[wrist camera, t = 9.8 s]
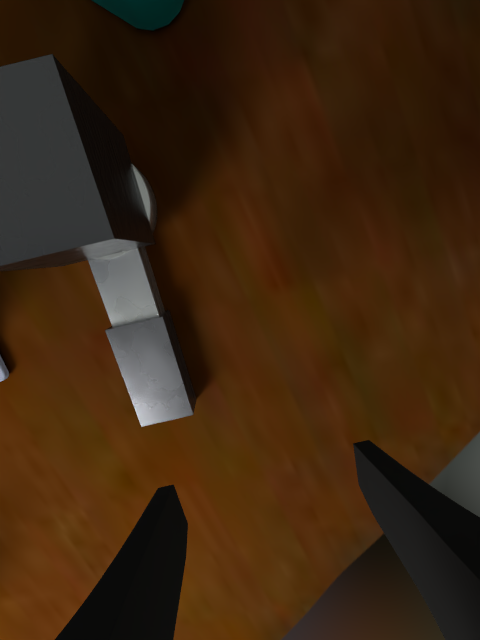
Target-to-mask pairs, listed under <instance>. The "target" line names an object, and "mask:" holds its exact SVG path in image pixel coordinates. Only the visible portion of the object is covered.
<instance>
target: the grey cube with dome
mask: <svg viewBox="0 0 480 640" xmlns="http://www.w3.org/2000/svg"><path fill="white" fill-rule="evenodd" d="M153 244H156V243H155V240H154V236H153V233H152V230H151V226H150V223H149V220H148V216H147V213H146V210H145V206H144V203H143V200H142V196H141V193H140V190H139V186H138V183H137V180H136V176H135V173H134V170H133V166H132V163H131V160H130V156H129V153H128V150H127V146H126V143H125V140H124V136H123V134H122V133H121V132H120V131H119V130H118V129H117V128H116V126H115V125H114V124H113V123H112V122H111V121H110V120H109V118H108V117H107V116H106V115H105V114H104V113H103V112H102V110H101V109H100V108H99V107H98V106H97V105H96V104H95V102H94V101H93V100H92V99H91V98H90V97H89V96H88V94H87V93H86V92H85V91H84V90H83V89H82V88H81V86H80V85H79V84H78V83H77V82H76V81H75V80H74V79H73V77H72V76H71V75H70V74H69V73H68V72H67V71H66V69H65V68H64V67H63V66H62V65H61V64H60V63H59V61H58V60H57V59H56V58H55V57H54V56H53V55H52V54H51V55H47V56H42V57H38V58H34V59H30V60H26V61H22V62H18V63H14V64H10V65H6V66H2V67H0V271H10V270H22V269H34V268H46V267H58V266H65V265H69V264H73V263H77V262H81V261H86V260H90V259H94V258H98V257H102V256H107V255H111V254H115V253H119V252H123V251H128V250H132V249H136V248H140V247H144V246H149V245H153Z"/></svg>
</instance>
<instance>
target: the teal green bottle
mask: <svg viewBox="0 0 480 640" xmlns="http://www.w3.org/2000/svg"><path fill="white" fill-rule="evenodd" d="M92 1H93V2H95V3H96V4H98V5H100V6H101V7H103V8H104V9H106V10H108V11H109V12H111V13H113V14H114V15H116V16H117V17H119V18H121V19H122V20H124V21H125V22H127V23H129V24H130V25H132V26H133V27H135V28H137V29H140V30H148V31H155V30H158V29H160V28H163V27H165V26H168V25H169V24H170V23H171V22H172V21H173V20H174V19H175V18H176V17H177V15H178V14H179V13H180V10H181V7H182V5H183V2H184V0H92Z"/></svg>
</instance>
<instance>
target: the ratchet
mask: <svg viewBox="0 0 480 640" xmlns="http://www.w3.org/2000/svg"><path fill="white" fill-rule="evenodd" d="M132 166H133V170H134V173H135V176H136V180H137V183H138V186H139V190H140V193H141V196H142V200H143V203H144V206H145V210H146V213H147V216H148V220H149V223H150V226H151V230H152V233H153V232H154V230H155V226H156V222H157V203H156V199H155V195H154V192H153V190H152V188H151V186H150V184H149V182H148V181H147V179H146V178H145V176H144V175H143V174H142V173H141V172H140V171H139V170H138V169H137V168H136V167H135V166H134V165H133V164H132ZM88 261H89V264H90V267H91V270H92V272H93V275H94V278H95V281H96V283H97V286H98V289H99V291H100V294H101V297H102V300H103V302H104V305H105V308H106V310H107V313H108V316H109V319H110V321H111V324H112V326H111V327H110V328H108V329H107V330H105V331H106V334H107V336H108V339H109V342H110V344H111V347H112V350H113V352H114V355H115V357H116V360H117V363H118V365H119V368H120V371H121V373H122V376H123V379H124V381H125V384H126V387H127V389H128V392H129V395H130V397H131V400H132V403H133V405H134V408H135V411H136V413H137V416H138V419H139V421H140V424H141V426H146V425H151V424H155V423H159V422H164V421H168V420H172V419H177V418H181V417H185V416H190V415H193V413H194V408H195V404H196V396H195V393H194V390H193V386H192V383H191V380H190V377H189V373H188V370H187V367H186V363H185V360H184V357H183V354H182V350H181V347H180V344H179V340H178V337H177V334H176V331H175V327H174V324H173V321H172V318H171V314H170V311H169V310H168V311H165V310H164V306H163V303H162V300H161V297H160V294H159V290H158V287H157V284H156V281H155V277H154V274H153V271H152V268H151V264H150V261H149V258H148V255H147V252H146V248H145V246H144V247H140V248H136V249H132V250H128V251H123V252H119V253H115V254H111V255H107V256H102V257H98V258H94V259H90V260H88Z"/></svg>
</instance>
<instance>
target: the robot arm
mask: <svg viewBox="0 0 480 640" xmlns="http://www.w3.org/2000/svg"><path fill="white" fill-rule="evenodd" d="M8 376H9V372H8V370H7V368H6V366H5V364H4V362H3V360H2V358H1V356H0V382H1V381H3V380H5V379H6V378H8ZM353 445H354V453H355V460H356V467H357V475H358V482H359V486H360V488H361V490H362V493H363V495H364V497H365V499H366V501H367V503H368V505H369V507H370V509H371V511H372V513H373V515H374V517H375V518H376V520H377V522H378V523H379V525H380V527H381V528H382V530H383V532H384V533H385V535H386V537H387V538H388V540H389V542H390V543H391V545H392V546H393V548H394V550H395V551H396V553H397V555H398V556H399V558H400V560H401V561H402V563H403V565H404V566H405V568H406V570H407V571H408V573H409V574H410V576H411V578H412V579H413V581H414V583H415V584H416V586H417V587H418V589H419V591H420V593H421V595H422V596H423V598H424V600H425V602H426V603H427V605H428V607H429V609H430V611H431V612H432V614H433V617H434V618H435V620H436V622H437V624H438V626H439V628H440V630H441V632H442V633H443V636H444V638H445V640H480V517H478V516H476V515H475V514H473V513H471V512H470V511H468V510H466V509H465V508H464V507H462V506H460V505H459V504H457V503H456V502H454V501H453V500H451V499H449V498H448V497H447V496H445V495H443V494H442V493H440V492H439V491H437V490H436V489H435V488H433V487H432V486H430V485H429V484H427V483H426V482H424V481H423V480H422V479H420V478H419V477H417V476H416V475H415V474H413V473H412V472H410V471H409V470H408V469H406V468H405V467H404V466H402V465H401V464H400V463H398V462H397V461H396V460H394V459H393V458H392V457H390V456H389V455H388V454H386V453H385V452H384V451H382V450H381V449H380V448H379V447H377V446H376V445H375V444H373V443H372V442H371V441H369V440H367V441H362V442H358V443H354V444H353ZM187 530H188V523H187V520H186V517H185V515H184V512H183V509H182V506H181V504H180V501H179V498H178V495H177V493H176V490H175V487H174V485H169V486H165V487H161V488H158V490H157V491H156V493H155V494H154V496H153V498H152V499H151V501H150V502H149V504H148V506H147V507H146V509H145V511H144V512H143V514H142V516H141V517H140V519H139V521H138V522H137V524H136V526H135V527H134V529H133V530H132V532H131V534H130V535H129V537H128V538H127V540H126V541H125V543H124V545H123V546H122V548H121V549H120V551H119V552H118V554H117V555H116V557H115V558H114V560H113V561H112V563H111V564H110V566H109V567H108V569H107V570H106V572H105V573H104V575H103V576H102V578H101V579H100V581H99V582H98V583H97V585H96V586H95V588H94V589H93V590H92V592H91V593H90V595H89V596H88V597H87V599H86V600H85V601H84V603H83V604H82V606H81V607H80V608H79V609H78V611H77V612H76V613H75V615H74V616H73V617H72V619H71V620H70V621H69V623H68V624H67V625H66V626H65V628H64V629H63V630H62V631H61V633H60V634H59V635H58V636H57V638H56V639H55V640H173V637H174V630H175V624H176V618H177V611H178V605H179V599H180V592H181V586H182V580H183V573H184V566H185V560H186V548H187Z"/></svg>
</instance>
